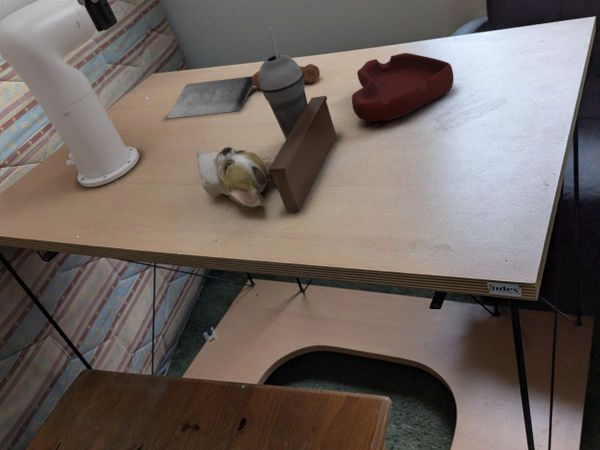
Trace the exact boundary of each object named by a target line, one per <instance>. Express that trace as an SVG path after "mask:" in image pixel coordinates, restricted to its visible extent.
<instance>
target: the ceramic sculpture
mask: <svg viewBox="0 0 600 450" xmlns="http://www.w3.org/2000/svg"><path fill="white" fill-rule="evenodd" d="M196 160H197V167H198V172H199V177H200V180H201V186H202V187H203V189H204V190H205V192H206V193H207V194H208V195H210V196H212V197H220V196H222V195H226V196H228V197H229V199H230V200H231V201H232V202H233V203H234V204H236V205H237V206H239V207H240V208H242V209H243V210H250V211H251V210H259V209H263V208H265V205H264V202H263V201H264V200H263V196H262V194H261V192H263V191H264V189H265V187H266V186H267V183H268V180H269V181H274V178H273V176H272V173H269V171H268V169H269V167H270V165H271V164H272V162H273V161H274V159H271V158H269V157H267V158H261V157H260V156H259V155H258V154H256V153H255V152H252V151H247V150H246V149H245V150H244V149H243V150H236V149H235V148H234V147H230V146H227V147H224V148H222V149H221V150H220V151H219V152H218V151H214V150H212V151H205V152H203V151H197V152H196Z"/></svg>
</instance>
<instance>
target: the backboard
mask: <svg viewBox="0 0 600 450" xmlns="http://www.w3.org/2000/svg"><path fill="white" fill-rule="evenodd" d="M327 100H328V97H327V95H322V96H314V97H311V98H310V100H309V101H308V102H307V103H308V105H307V106H306V108H305V109H304V111H303V113H302V114H301V116H300V118H299V119H298V121H297V123H296V124H295V126H294V128H293V129H292V131H291V133H290V134H289V136H288V137H287V139H285V141H284V143H283V144H282V146H281V147H280V149H279V151H278V152H277V153H276V155H275V157H274V159H273V160H274V161H273V162H272V164H271V165H270V167H269V169H268V171H269V173H272V176H273V178H274V180H273V181H274V183H275V186H276V188H277V191H278V193H279V196H280V199H281V201H282V204H283V207H284V208H285V211H286V213H300V212H301V210H302V208H303V206H304V204H305V202H306V200H307V198H308V196H309V194H310V192H311V189H312V188H313V185H314V184H315V182H316V179H317V178H318V176H319V173H320V171H321V169H322V167H323V165H324V163H325V161H326V159H327V157H328V155H329V154H330V151H331V149H332V148H333V145H334V143H335V141H336V140H337V137H338V136H337V133H336V129H335V126H334V123H333V120H332V116H331V112H330V109H329V106H328V102H327Z"/></svg>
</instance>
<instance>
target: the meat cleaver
mask: <svg viewBox="0 0 600 450" xmlns="http://www.w3.org/2000/svg"><path fill="white" fill-rule="evenodd" d="M298 66H299V67H300V70H301V71H302V73H303V75H304V76H303V79H304V83H305V82H308V83H314V82H316V81H317V80H318V79H319V78H320V76H321V75H320V73H321V72H320V68H319V66H317V65H315V64H312V63H308V64H307V65H305V66H302V65H301V66H300V65H298ZM259 71H260V70H258V71H257V72H255V73H254V74H253V75H250V76H243V77H242V76H241V77H235V78H225V79H218V80H217V79H216V80H209V81H201V82H193V83H187V84H185V85H184V87H183V89H182V91H181V92H180V94H179V96H178V98H177V100H176V102H175V104H174V105H173V107H172V109H171V111H170V112H169V114H168V116H167V119H174V118H181V117H182V118H184V117H185V118H186V117H195V116H202V115H213V114H222V113H223V114H224V113H231V112H240V111H241V109H242V107H243V105H244V103H245V102H246V100H247V98H248V96H249V94H250V93H251V91H252V89H253V88H254V87H255V88H258V89H260V84H259Z"/></svg>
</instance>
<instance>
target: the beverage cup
mask: <svg viewBox="0 0 600 450" xmlns="http://www.w3.org/2000/svg"><path fill="white" fill-rule="evenodd" d="M269 33H270V38H271V42H272V47H273V52H274V55H272V56H269V57H268V58H267V59H266V60H264V61H263V62H262V64H261V66H260V69H259V70H258V71H259V84H260V88H259V90H260V92H262V95H263V96H264V98H265V100H266V101H267V102H268V105H269V107H270V109H271V111H272V114H273V115H274V117H275V119H276V121H277V124H278V126H279V128H280V130H281V132H282V134H283V137H284V139H285V140H286V139H287V137H288V136H289V134H290V133H291V131H292V129H293V128H294V126H295V124H296V123H297V121H298V119H299V118H300V116H301V114H302V113H303V111H304V109H305V108H306V106H307V105H308V103H309V102H308V99H307V95H306V91H305V82H304V79H303V76H304V75H303V73H302V71H301V70H300V67H299V66H300V65H299V64H298V63H297V62H296V61H295V60H294V59H293V58H291V57H290V56H288V55H285V54H279V50H278V46H277V42H276V41H277V40H276V37H275V33H274V28H273V27H269Z"/></svg>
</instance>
